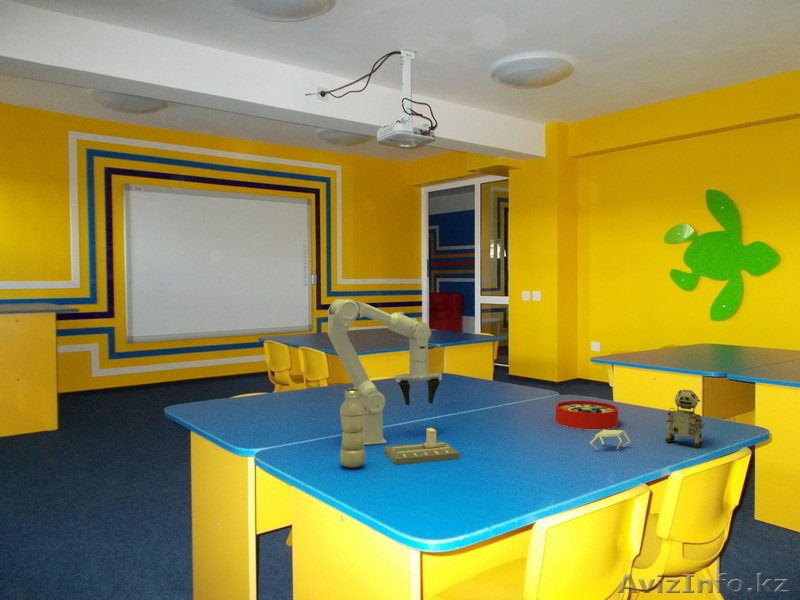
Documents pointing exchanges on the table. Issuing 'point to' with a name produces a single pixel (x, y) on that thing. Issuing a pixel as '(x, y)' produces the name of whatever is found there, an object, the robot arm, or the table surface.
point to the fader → (430, 439)
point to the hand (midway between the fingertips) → (419, 403)
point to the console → (420, 453)
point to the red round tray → (587, 414)
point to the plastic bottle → (352, 430)
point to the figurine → (685, 418)
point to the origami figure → (609, 434)
